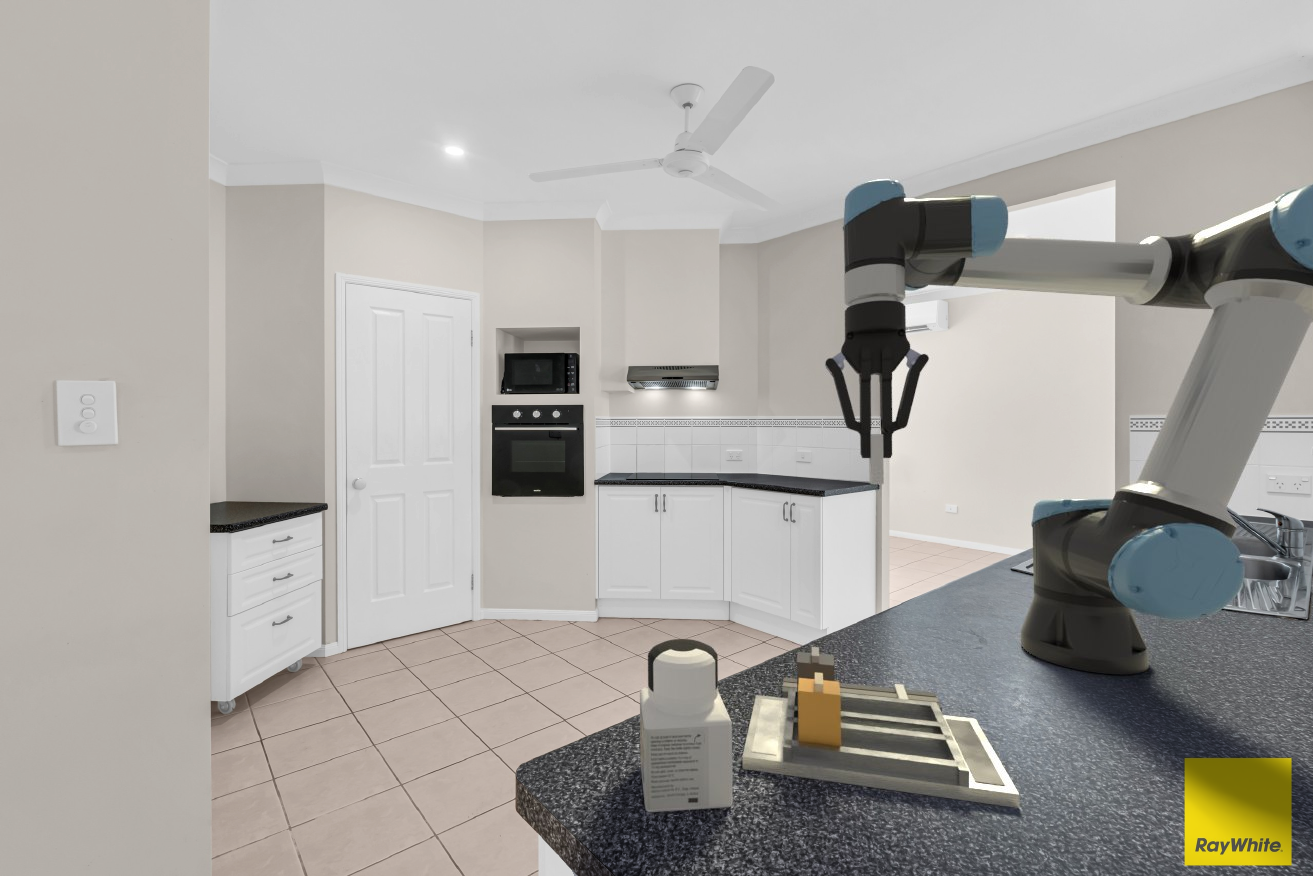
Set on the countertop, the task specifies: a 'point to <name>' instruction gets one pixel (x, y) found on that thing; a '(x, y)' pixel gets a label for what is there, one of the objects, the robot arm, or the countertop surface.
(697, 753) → the container
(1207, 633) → the countertop surface
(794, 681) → the strapped plank bundle
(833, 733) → the toggle
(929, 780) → the panel
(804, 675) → the toggle
